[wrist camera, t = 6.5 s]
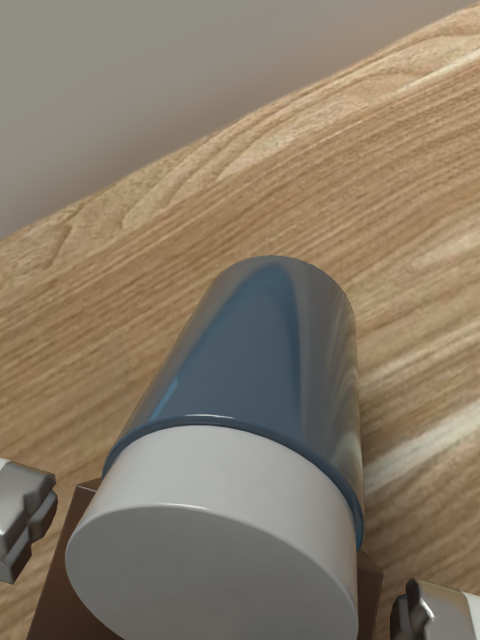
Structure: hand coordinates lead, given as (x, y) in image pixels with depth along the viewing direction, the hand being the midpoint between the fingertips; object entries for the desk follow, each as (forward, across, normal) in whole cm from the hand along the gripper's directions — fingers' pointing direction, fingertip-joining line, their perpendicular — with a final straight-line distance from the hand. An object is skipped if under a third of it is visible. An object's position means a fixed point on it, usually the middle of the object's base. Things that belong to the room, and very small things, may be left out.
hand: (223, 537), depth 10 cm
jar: (+8, 0, +5) cm, 10 cm away
